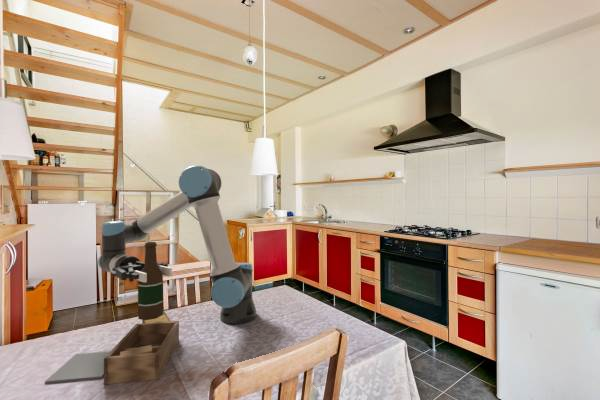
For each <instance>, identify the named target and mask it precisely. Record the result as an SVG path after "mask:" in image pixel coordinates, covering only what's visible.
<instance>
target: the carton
mask: <svg viewBox="0 0 600 400" xmlns="http://www.w3.org/2000/svg"><path fill="white" fill-rule="evenodd" d="M141 321H142V323H158V322H172V321H171V319H170V318H169V317H168V315H167V313H166V311H165V310H164V309H163V315H162V316H160V317H158V318H156V319H150V320H141ZM142 323H141V324H142Z"/></svg>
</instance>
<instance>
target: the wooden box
mask: <svg viewBox="0 0 600 400" xmlns="http://www.w3.org/2000/svg"><path fill="white" fill-rule="evenodd" d="M179 334H180V321H179V320H178V321H171V322H158V323H136V324H135V325H134V326H132V328H131V329H129V331H128V332H127V333H126V334H125V335H124V337H122V339H121V340H120V341H119V342H118V343H117V344H115V346H114V347H113V348H112V350H110V351H111V352H110V353H109V354H108V355H107V356H106V357H105V358H104V376H103V385H112V384H121V383H133V382H143V381H146V382H147V381H154V380H159V379H160V378H161V376H162V374H163V372H164V370H165V369H166V367H167V365H168V363H169V361H170V359H171V356H172V355H173V353H174V351H175V349H176V347H177V345H178V343H179V342H180V340H179V338H180V337H179V336H180V335H179ZM157 344H159V345H157ZM160 344H161V345H160ZM143 345H144V346H147V345H151V346H152V345H154V346H152V353H146V354H133V355H121V356H120V352H122V351H126V350H130V349H135V348H139V347H140V346H143Z"/></svg>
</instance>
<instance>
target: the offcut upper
mask: <svg viewBox="0 0 600 400" xmlns="http://www.w3.org/2000/svg"><path fill="white" fill-rule="evenodd" d="M138 347H139V348H138ZM138 347H136V348H135V349H130V350H126V351H122V352H120V356H121V355H133V354H146V353H152V344H147V345H144V346H143V345H142V346H138Z"/></svg>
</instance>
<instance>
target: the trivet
mask: <svg viewBox="0 0 600 400" xmlns="http://www.w3.org/2000/svg"><path fill="white" fill-rule="evenodd" d="M111 351H112V350H110V351H107V350H106V351H96V352H85V353H76V354H74V355H73V356H72V357H71V358H69V359H68V360H67V361H66V362H65V363H64V364H63V365H61V366H60V367H59V368H58V369H57V370H56V371H55V372H54V373H52V374H51V375H50V376H49V377H48V378H47V379H46V380H45V381H44V384H53V383H55V384H56V383H66V382H77V381H86V380H97V379H98V380H99V379H102V378H104V358H105V357H106V356H107V355H108V354H109V353H110V352H111Z"/></svg>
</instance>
